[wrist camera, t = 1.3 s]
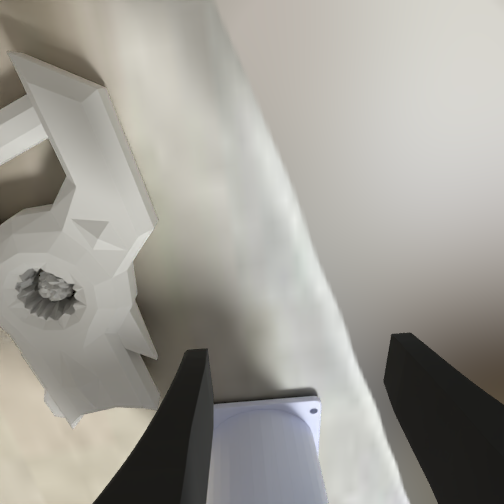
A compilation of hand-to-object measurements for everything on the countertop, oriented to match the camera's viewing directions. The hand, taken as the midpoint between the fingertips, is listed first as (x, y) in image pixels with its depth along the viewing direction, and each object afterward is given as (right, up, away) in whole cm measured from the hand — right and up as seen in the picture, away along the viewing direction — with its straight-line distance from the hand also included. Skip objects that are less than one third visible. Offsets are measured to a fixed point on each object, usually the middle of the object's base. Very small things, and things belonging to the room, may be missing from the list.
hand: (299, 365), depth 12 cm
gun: (-10, +3, +8) cm, 13 cm away
